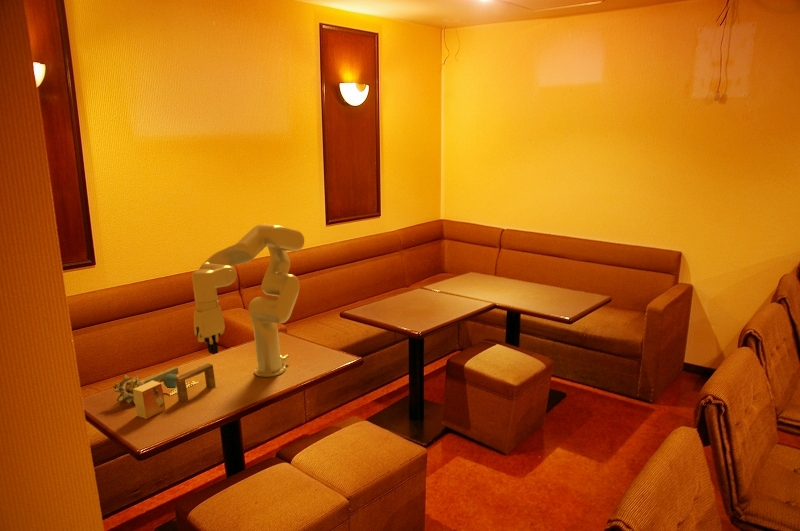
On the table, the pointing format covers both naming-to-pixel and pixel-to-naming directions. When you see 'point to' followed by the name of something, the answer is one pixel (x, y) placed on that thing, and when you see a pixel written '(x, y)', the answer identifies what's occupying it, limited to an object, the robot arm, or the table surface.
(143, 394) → the small box
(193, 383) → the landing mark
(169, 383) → the ball
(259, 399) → the table surface
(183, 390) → the bridge
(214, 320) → the robot arm
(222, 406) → the table surface
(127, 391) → the passion flower
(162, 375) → the grey square bar
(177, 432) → the table surface
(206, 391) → the table surface
